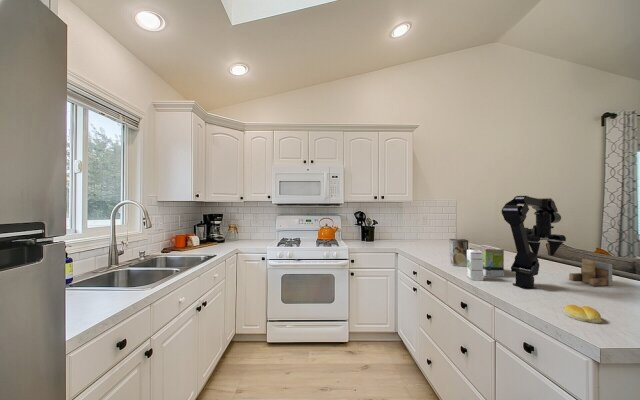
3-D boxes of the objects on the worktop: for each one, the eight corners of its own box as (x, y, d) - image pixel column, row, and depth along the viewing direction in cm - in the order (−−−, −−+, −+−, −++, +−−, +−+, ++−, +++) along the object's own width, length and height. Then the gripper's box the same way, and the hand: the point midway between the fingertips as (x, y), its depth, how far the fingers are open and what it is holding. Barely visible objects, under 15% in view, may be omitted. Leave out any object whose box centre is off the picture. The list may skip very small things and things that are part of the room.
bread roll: (560, 310, 92) (560, 299, 92) (595, 316, 87) (595, 305, 87) (567, 319, 85) (567, 307, 85) (605, 326, 80) (605, 313, 80)
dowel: (590, 284, 121) (589, 261, 121) (579, 281, 125) (579, 259, 125) (598, 284, 121) (597, 261, 121) (587, 281, 126) (587, 259, 126)
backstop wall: (608, 285, 119) (608, 264, 119) (583, 279, 129) (583, 259, 129) (612, 285, 119) (612, 264, 119) (587, 279, 129) (587, 259, 129)
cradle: (593, 285, 118) (593, 270, 118) (569, 279, 127) (569, 265, 128) (608, 285, 119) (608, 270, 119) (583, 278, 129) (583, 265, 129)
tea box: (504, 277, 133) (504, 248, 133) (485, 277, 133) (485, 248, 133) (486, 269, 148) (486, 244, 148) (468, 269, 148) (468, 244, 148)
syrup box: (483, 280, 126) (483, 251, 126) (470, 280, 127) (470, 251, 127) (478, 277, 132) (478, 249, 132) (466, 276, 133) (466, 249, 133)
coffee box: (464, 264, 160) (464, 238, 160) (469, 266, 154) (469, 240, 154) (449, 263, 162) (449, 238, 162) (452, 266, 155) (452, 239, 155)
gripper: (543, 222, 134) (543, 251, 134) (512, 222, 132) (512, 252, 131) (566, 224, 123) (567, 256, 123) (532, 224, 121) (533, 257, 120)
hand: (543, 255), depth 125 cm, fingers open, 9 cm apart
